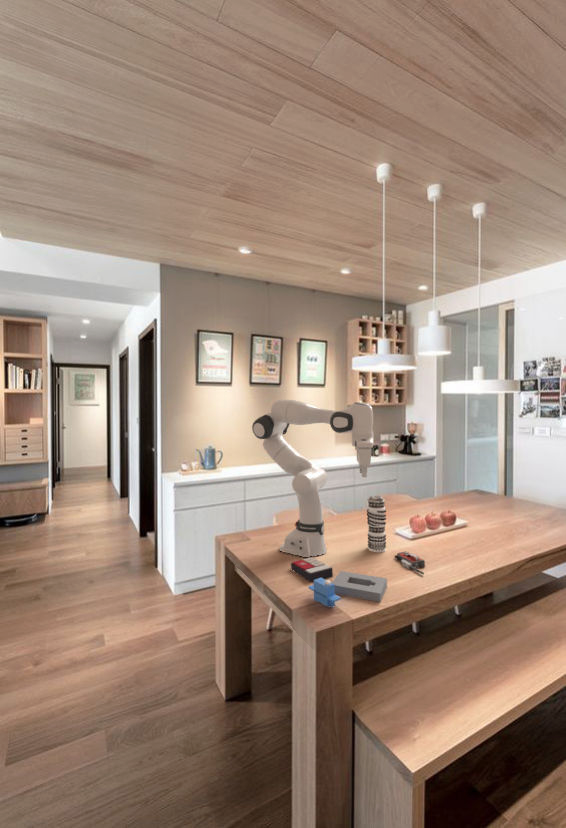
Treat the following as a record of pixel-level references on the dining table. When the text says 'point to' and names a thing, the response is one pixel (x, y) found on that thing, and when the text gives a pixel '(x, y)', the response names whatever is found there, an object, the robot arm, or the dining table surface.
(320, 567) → the calculator
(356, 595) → the chassis deck
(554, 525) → the dining table surface
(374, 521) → the white patterned cylinder
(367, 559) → the dining table surface
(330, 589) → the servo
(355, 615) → the dining table surface
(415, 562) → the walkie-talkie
